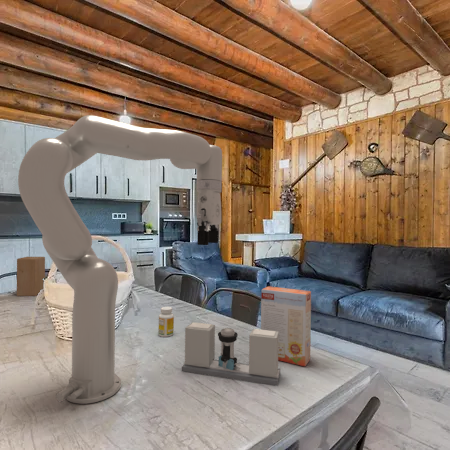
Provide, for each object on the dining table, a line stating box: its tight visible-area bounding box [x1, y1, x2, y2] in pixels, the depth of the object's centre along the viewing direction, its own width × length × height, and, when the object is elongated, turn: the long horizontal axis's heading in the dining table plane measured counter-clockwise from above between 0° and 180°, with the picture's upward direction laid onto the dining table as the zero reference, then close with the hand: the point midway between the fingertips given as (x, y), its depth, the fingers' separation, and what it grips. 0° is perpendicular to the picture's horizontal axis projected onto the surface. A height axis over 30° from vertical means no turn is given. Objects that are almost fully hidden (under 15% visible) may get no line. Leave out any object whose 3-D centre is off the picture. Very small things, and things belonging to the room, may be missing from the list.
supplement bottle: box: [158, 306, 175, 338], centre depth 113 cm, size 5×5×10 cm
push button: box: [217, 327, 241, 370], centre depth 85 cm, size 7×5×10 cm
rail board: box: [181, 321, 281, 387], centre depth 86 cm, size 7×26×12 cm, turn 74°
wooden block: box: [16, 256, 46, 297], centre depth 171 cm, size 10×10×20 cm
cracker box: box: [260, 285, 312, 367], centre depth 95 cm, size 14×6×21 cm, turn 59°
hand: (208, 243), depth 95 cm, fingers open, 9 cm apart
